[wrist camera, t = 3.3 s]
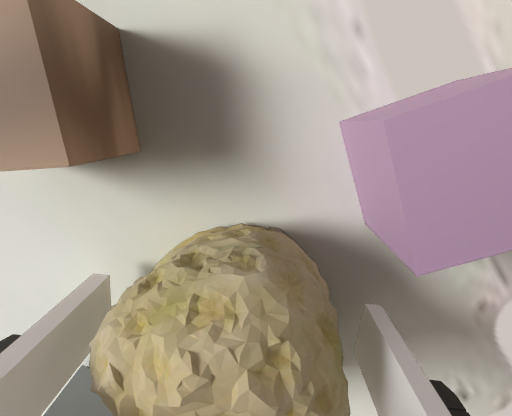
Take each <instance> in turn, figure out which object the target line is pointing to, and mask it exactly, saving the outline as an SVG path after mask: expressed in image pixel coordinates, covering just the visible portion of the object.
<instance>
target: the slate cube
mask: <svg viewBox="0 0 512 416" xmlns="http://www.w3.org/2000/svg"><path fill="white" fill-rule="evenodd" d="M91 385H92V377H91V374H90V370H89V368H88V367H85V366H81V367H80V369H79V370H78V371H77V372H76V374H75V375H74V376H73V378H72V379H71V380H70V382H69V383H68V384H67V385H66V387H65V388H64V389H63V391H62V392H61V393H60V395H59V396H58V397H57V399H56V400H55V401H54V402H53V404H52V405H51V406H50V408H49V409H48V410H47V412H46V413H45V414H44V415H43V416H113V414H112V412H111V411H110V410H109V409H108V408H107V406H106V405H105V404H104V403H103V401H102V399H101V397H100V396H99V395H97V394H96V393H93V392H90V390H91Z"/></svg>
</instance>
